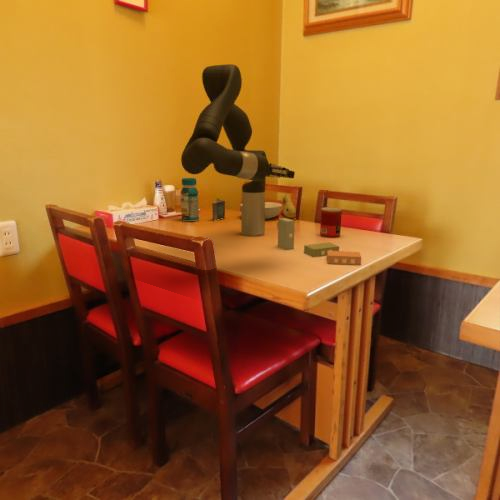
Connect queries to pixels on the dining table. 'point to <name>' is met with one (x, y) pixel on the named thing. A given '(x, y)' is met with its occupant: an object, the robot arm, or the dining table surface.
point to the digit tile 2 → (320, 249)
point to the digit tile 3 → (343, 258)
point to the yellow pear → (288, 209)
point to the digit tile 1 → (286, 233)
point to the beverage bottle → (189, 200)
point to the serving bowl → (270, 209)
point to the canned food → (330, 222)
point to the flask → (218, 209)
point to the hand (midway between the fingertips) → (292, 174)
